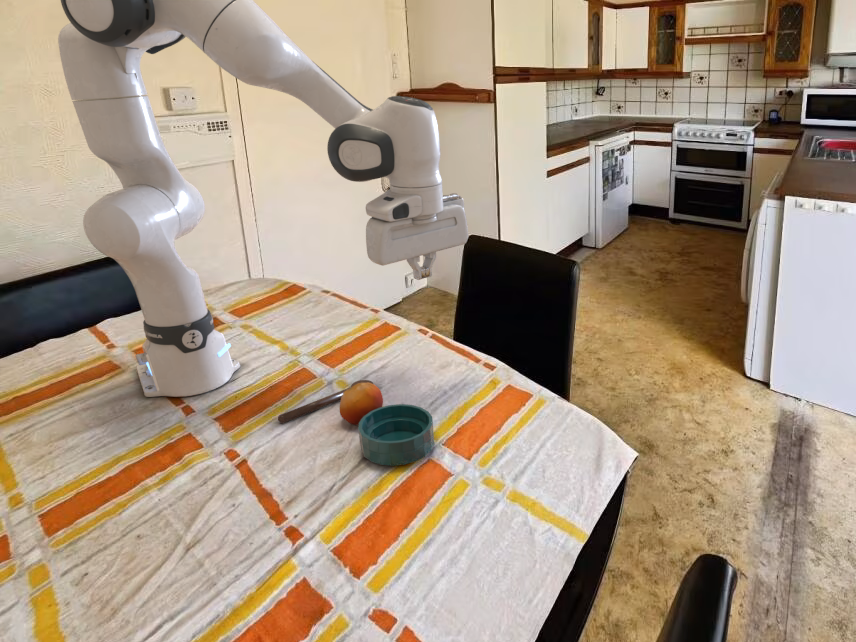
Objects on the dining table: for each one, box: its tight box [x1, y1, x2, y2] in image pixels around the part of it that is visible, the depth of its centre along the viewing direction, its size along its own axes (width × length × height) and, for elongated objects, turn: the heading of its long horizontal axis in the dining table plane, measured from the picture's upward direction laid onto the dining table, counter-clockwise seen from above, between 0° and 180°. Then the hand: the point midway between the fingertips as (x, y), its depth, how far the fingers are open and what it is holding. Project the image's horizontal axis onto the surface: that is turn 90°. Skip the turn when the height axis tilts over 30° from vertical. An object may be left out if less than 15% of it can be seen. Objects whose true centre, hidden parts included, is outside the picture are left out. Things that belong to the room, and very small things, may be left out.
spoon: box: [277, 379, 374, 424], centre depth 119 cm, size 4×20×2 cm, turn 135°
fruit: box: [339, 382, 384, 426], centre depth 113 cm, size 8×8×8 cm
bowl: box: [357, 403, 435, 467], centre depth 105 cm, size 12×12×5 cm
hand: (422, 277), depth 114 cm, fingers closed
